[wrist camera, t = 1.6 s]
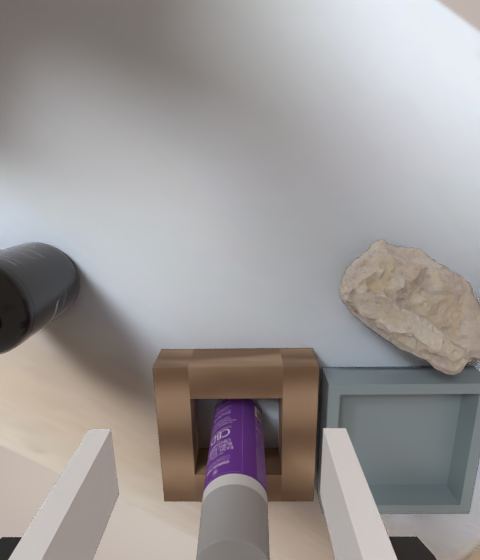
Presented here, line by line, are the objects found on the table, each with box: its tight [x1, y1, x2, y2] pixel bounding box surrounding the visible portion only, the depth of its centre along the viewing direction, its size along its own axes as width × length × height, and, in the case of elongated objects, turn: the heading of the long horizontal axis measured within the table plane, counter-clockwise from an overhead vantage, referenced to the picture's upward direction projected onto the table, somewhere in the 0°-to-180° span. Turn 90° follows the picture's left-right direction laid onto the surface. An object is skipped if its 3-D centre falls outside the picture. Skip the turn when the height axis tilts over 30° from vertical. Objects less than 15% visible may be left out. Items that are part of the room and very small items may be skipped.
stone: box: [340, 240, 480, 375], centre depth 30 cm, size 8×12×10 cm, turn 59°
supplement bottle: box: [0, 243, 79, 354], centre depth 28 cm, size 7×7×12 cm
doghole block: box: [153, 348, 319, 501], centre depth 35 cm, size 14×14×4 cm
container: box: [196, 399, 270, 560], centre depth 30 cm, size 5×5×15 cm
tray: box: [317, 366, 480, 514], centre depth 36 cm, size 14×14×3 cm
